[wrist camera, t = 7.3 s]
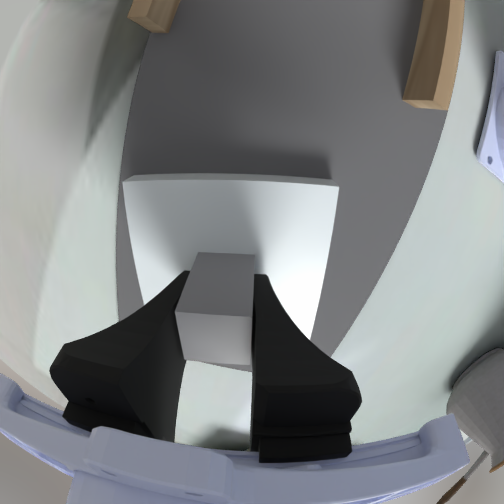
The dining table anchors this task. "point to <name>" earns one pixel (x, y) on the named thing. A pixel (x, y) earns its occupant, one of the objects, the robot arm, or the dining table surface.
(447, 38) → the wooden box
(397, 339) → the dining table surface
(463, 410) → the grey faceted twig vase
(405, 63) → the rubber mat
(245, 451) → the robot arm
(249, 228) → the cover plate
